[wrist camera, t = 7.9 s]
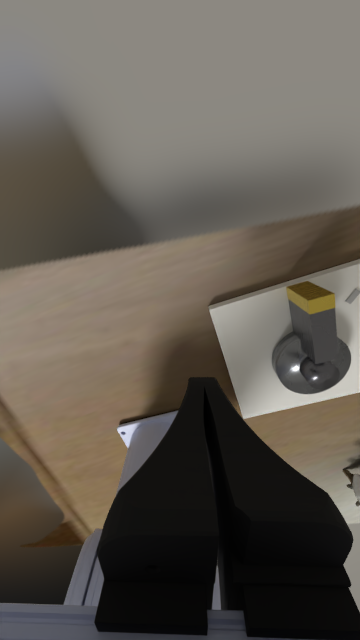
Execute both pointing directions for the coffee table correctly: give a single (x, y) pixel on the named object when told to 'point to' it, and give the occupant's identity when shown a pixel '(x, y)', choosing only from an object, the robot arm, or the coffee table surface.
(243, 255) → the coffee table surface
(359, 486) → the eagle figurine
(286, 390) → the dial plate
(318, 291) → the dial
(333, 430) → the coffee table surface
